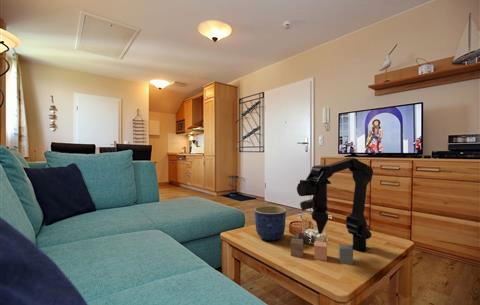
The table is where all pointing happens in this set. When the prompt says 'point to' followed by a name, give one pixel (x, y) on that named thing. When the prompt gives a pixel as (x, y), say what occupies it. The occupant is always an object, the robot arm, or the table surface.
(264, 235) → the planter
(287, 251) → the table surface
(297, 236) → the walkie-talkie
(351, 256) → the charcoal block
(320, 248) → the terracotta block
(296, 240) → the walnut block
